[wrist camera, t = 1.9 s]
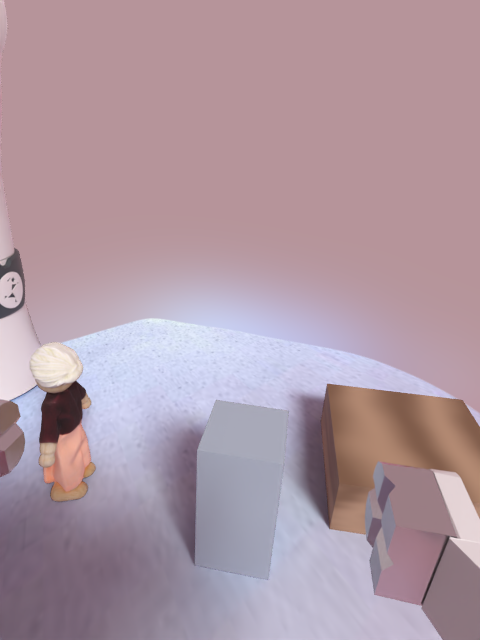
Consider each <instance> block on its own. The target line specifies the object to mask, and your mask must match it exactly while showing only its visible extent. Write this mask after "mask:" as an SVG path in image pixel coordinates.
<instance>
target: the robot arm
mask: <svg viewBox="0 0 480 640" xmlns="http://www.w3.org/2000/svg"><path fill="white" fill-rule="evenodd" d="M6 36H7V13H6V8H5V3H4V0H0V477H2V476H4V475H6V474H8V473H10V472H11V471H12V470H13V468H14V467H15V466H16V465H17V464H18V462H19V460H20V458H21V456H22V454H23V452H24V445H25V438H24V432H23V431H22V430H21V429H20V427H19V426H18V425H17V424H16V422H17V421H18V419H19V418H20V413H19V409H18V405H17V404H15V403H13V402H11V401H9V400H12V399H14V398H16V397H18V396H20V395H22V394H24V393H25V392H27V391H29V390H30V389H32V388H33V387H35V386H36V385H37V383H36V381H35V379H34V378H33V374H32V372H31V370H30V369H29V368H30V363H29V361H30V360H31V358H30V357H31V356H32V355H33V353H34V352H35V351H36V350H37V349H38V348H40V347H41V345H40V342H39V340H38V338H37V335H36V332H35V330H34V327H33V324H32V321H31V318H30V315H29V312H28V309H27V306H26V302H25V280H24V274H23V269H22V263H21V259H20V254H19V251H18V250H17V249H15V248H14V244H13V239H12V233H11V227H10V221H9V215H8V209H7V203H6V196H5V190H4V184H3V176H2V164H1V131H2V91H1V60H2V54H3V50H4V46H5V42H6ZM373 479H374V484H375V488H374V489H372V490H371V491H369V493H368V498H367V502H366V510H365V530H366V538H367V541H368V542H369V544H370V545H371V546H372V547H373V550H372V554H371V557H370V567H371V574H372V581H373V588H374V595H378V596H382V597H386V598H391V599H395V600H399V601H403V602H408V603H412V604H416V605H421V606H422V610H423V611H424V613H425V614H426V616H427V617H428V619H429V620H430V622H431V623H432V625H433V626H434V627H435V629H436V630H437V632H438V633H439V635H440V636H441V638H442V639H443V640H480V519H479V517H478V514H477V512H476V510H475V508H474V506H473V504H472V501H471V499H470V497H469V495H468V493H467V490H466V488H465V486H464V484H463V482H462V479H461V477H460V476H459V475H458V474H457V473H456V472H449V471H442V470H435V469H425V468H418V467H412V466H406V465H399V464H393V463H386V462H380V461H378V463H377V465H376V467H375V470H374V474H373Z"/></svg>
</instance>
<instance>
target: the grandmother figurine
mask: <svg viewBox="0 0 480 640" xmlns="http://www.w3.org/2000/svg"><path fill="white" fill-rule="evenodd" d="M30 358H31V360H30V361H29V363H30V368H29V369H30V370H31V372H32V374H33V378H34V379H35V381H36V383H37V385H38V387H39V388H40V389H42V390H43V391H45V392H47V394H46V397H45V399H44V401H43V403H42V406H41V411H42V424H41V432H40V438H39V442H40V453H41V455H40V457H39V465H40V466H41V467H43V472H44V482H45V483H51V482H55V483H54V485H53V487H52V489H51V493H50V496H51V498H52V500H54V501H58V502H60V501H68V500H75V499H79V498H82V497H83V496H84V495H85V494H86V492H87V489H88V486H87V484H86V483H85V482H83V481H82V479H83V478H85V477H88V476H90V475H92V474H93V472H94V471H95V469H96V467H95V465H94V464H93V463H92V462H90V461H91V456H90V450H89V446H88V441H87V436H86V434H85V432H84V430H83V427H82V425H81V419H82V409H87V408H89V407H90V405H91V400H90V398H88V395H87V393H86V390H85V389H84V388H83V387H82V386H81V385H80V384H79V383H78V382H77V381H76V380H77V379H78V378H79V377H80V375H81V374H82V371H83V365H82V363H81V361H80V360H79V357H78V355H77V354H76V352H75V351H74V350H73V349H71V348H69V347H67V346H65V345H63V344H61V343H57V342H51V343H48V344H44V345H42V346H41V347H40V348H38V349H37V350H36V351H35V352H34V353H33V355H32V356H31V357H30Z"/></svg>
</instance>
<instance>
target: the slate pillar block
mask: <svg viewBox="0 0 480 640" xmlns="http://www.w3.org/2000/svg"><path fill="white" fill-rule="evenodd" d="M288 414H289V411H287V410H281V409H274V408H267V407H260V406H254V405H247V404H240V403H233V402H226V401H220V400H216V401H215V404H214V406H213V409H212V412H211V414H210V417H209V420H208V422H207V425H206V428H205V430H204V433H203V436H202V438H201V441H200V444H199V446H198V449H197V481H196V527H195V566H200V567H205V568H210V569H215V570H220V571H225V572H230V573H235V574H240V575H245V576H250V577H255V578H260V579H265V580H268V578H269V571H270V564H271V557H272V549H273V542H274V535H275V528H276V520H277V513H278V506H279V499H280V491H281V484H282V477H283V470H284V461H285V449H286V438H287V426H288Z"/></svg>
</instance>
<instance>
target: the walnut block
mask: <svg viewBox="0 0 480 640" xmlns="http://www.w3.org/2000/svg"><path fill="white" fill-rule="evenodd" d="M321 430H322V443H323V455H324V467H325V479H326V491H327V503H328V515H329V527H330V529H334V530H340V531H346V532H353V533H359V534H366V530H365V510H366V502H367V498H368V493H369V491H371V490H372V489H374V488H375V484H374V479H373V474H374V470H375V467H376V465H377V463H378V461H380V462H386V463H393V464H399V465H406V466H412V467H418V468H425V469H435V470H442V471H449V472H456V473H457V474H458V475H459V476H460V477H461V479H462V482H463V484H464V486H465V488H466V490H467V493H468V495H469V497H470V499H471V501H472V504H473V506H474V508H475V510H476V512H477V514H478V517H479V519H480V427H479V425H478V424H477V422H476V420H475V419H474V417H473V416H472V414H471V413H470V411H469V410H468V408H467V406H466V405H465V403H464V402H463V400H458V399H449V398H441V397H433V396H425V395H416V394H408V393H400V392H391V391H383V390H375V389H367V388H358V387H350V386H342V385H333V384H327V388H326V394H325V400H324V405H323V411H322V417H321Z"/></svg>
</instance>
